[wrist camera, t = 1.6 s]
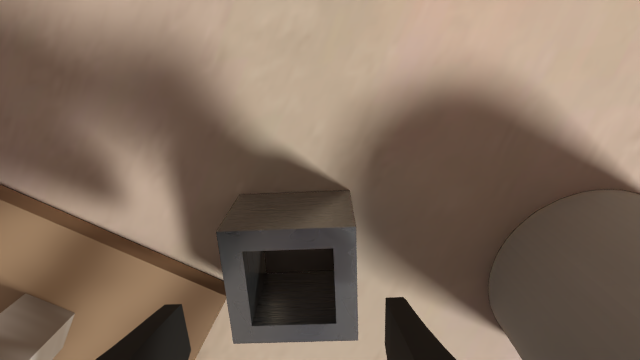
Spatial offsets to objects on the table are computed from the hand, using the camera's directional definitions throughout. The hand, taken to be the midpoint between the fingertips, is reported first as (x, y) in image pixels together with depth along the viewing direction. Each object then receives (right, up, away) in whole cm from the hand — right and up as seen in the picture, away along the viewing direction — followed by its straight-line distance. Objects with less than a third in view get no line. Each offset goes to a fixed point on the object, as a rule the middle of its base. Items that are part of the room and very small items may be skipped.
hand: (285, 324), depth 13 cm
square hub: (0, +2, +6) cm, 6 cm away
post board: (-13, -2, +7) cm, 15 cm away
